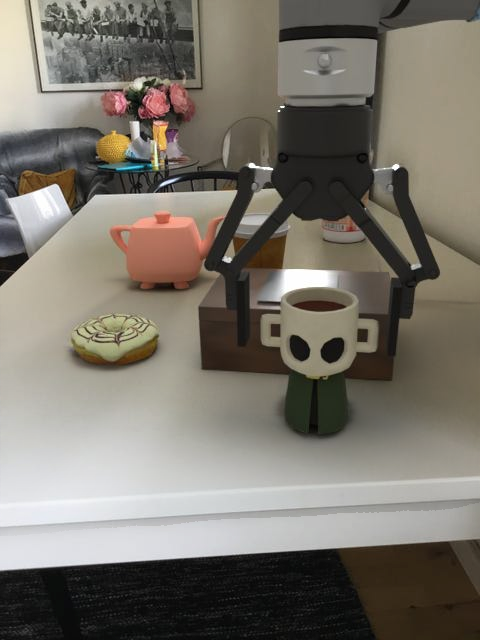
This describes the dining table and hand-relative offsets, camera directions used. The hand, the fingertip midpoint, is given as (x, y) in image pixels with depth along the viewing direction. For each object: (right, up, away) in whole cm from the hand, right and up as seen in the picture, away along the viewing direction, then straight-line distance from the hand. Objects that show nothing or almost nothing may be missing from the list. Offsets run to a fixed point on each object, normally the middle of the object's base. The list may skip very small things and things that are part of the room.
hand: (315, 345), depth 53 cm
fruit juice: (+15, +20, +69) cm, 74 cm away
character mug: (0, -8, +3) cm, 9 cm away
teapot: (-19, +9, +45) cm, 50 cm away
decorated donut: (-23, -2, +20) cm, 30 cm away
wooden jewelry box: (+1, -1, +19) cm, 19 cm away
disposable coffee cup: (-4, +7, +39) cm, 40 cm away
